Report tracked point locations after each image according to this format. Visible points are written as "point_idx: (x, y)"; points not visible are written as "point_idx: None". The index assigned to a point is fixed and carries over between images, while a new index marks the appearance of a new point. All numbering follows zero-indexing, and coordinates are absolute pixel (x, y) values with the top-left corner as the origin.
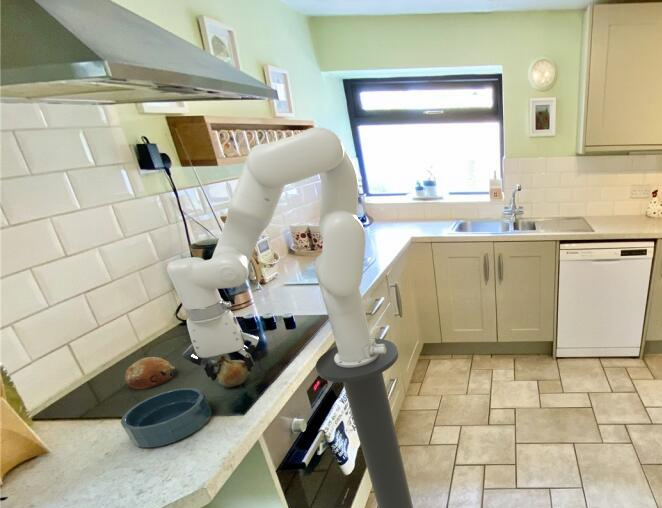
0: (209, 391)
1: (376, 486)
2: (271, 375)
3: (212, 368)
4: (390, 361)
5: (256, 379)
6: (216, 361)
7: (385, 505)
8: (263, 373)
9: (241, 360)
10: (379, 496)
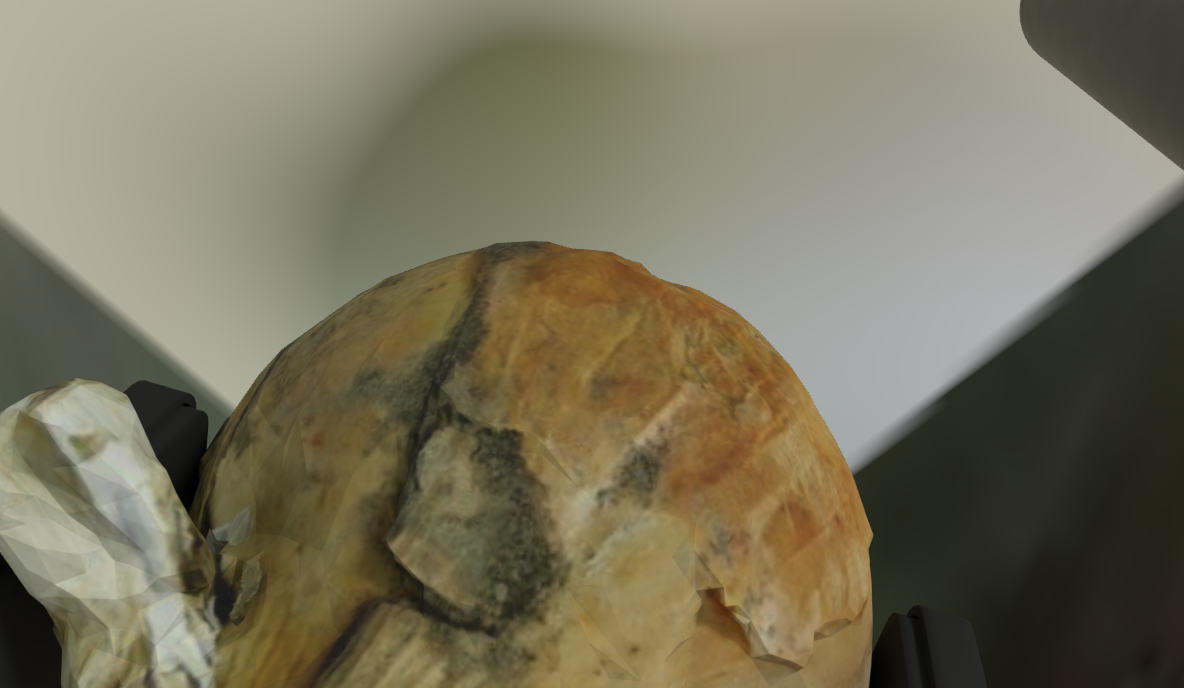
0: (140, 351)
1: (1180, 148)
2: (1148, 615)
3: (56, 683)
4: None
5: (883, 550)
6: (108, 521)
7: (1144, 135)
8: (1072, 428)
9: (788, 665)
10: (1153, 130)
